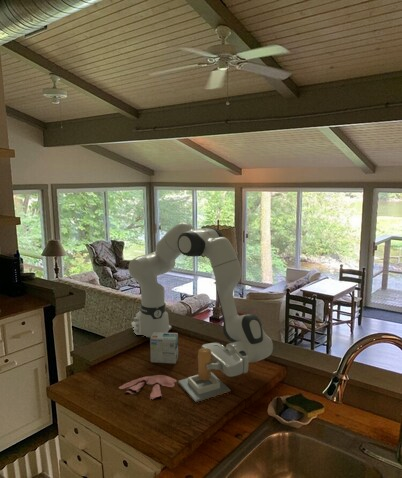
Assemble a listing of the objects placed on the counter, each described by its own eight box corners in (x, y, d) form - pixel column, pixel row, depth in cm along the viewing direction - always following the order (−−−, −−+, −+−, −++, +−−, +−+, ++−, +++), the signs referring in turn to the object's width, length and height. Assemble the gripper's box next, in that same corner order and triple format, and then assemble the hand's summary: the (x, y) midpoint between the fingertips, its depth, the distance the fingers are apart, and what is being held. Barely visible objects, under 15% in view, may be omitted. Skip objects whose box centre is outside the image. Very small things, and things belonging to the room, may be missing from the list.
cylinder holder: (178, 383, 142) (178, 375, 141) (211, 374, 148) (211, 366, 148) (195, 403, 130) (195, 395, 129) (230, 392, 136) (230, 384, 136)
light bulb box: (178, 356, 162) (178, 332, 160) (175, 364, 156) (175, 339, 154) (153, 354, 163) (153, 331, 161) (150, 362, 157) (149, 338, 155)
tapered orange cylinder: (196, 375, 139) (196, 349, 137) (206, 372, 141) (207, 347, 139) (202, 381, 135) (202, 355, 133) (213, 378, 137) (213, 352, 136)
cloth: (183, 379, 146) (183, 373, 145) (161, 414, 125) (161, 407, 125) (134, 371, 151) (134, 365, 151) (105, 402, 131) (105, 396, 130)
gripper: (220, 336, 152) (189, 343, 145) (250, 358, 134) (216, 367, 127) (220, 351, 153) (189, 358, 146) (250, 374, 135) (216, 384, 129)
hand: (202, 363), depth 137 cm, fingers closed on tapered orange cylinder, 4 cm apart
